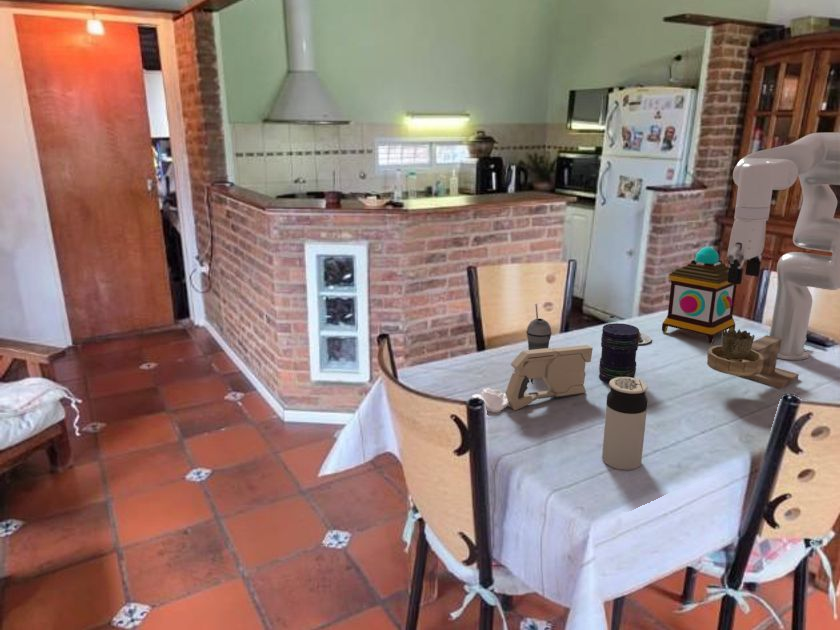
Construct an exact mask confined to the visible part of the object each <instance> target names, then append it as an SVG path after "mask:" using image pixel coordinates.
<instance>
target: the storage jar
mask: <svg viewBox="0 0 840 630" xmlns="http://www.w3.org/2000/svg"><path fill="white" fill-rule="evenodd" d="M609 318H610V319H614V318H615V316H614V315H610V316H609ZM639 332H640V328H638V327H636V326H634V325H632V324H627V323H619V322H618V323H617V322H616V323H615V322H614V323H607V324H604V325H603V326H602V332H601V340H600V341H601V342H600V344H601V345H600V347H601V356H600V359H599V364H598V365H599V367H598V371H599V374H598V378H599V381H601V382H603V383H604V384H605V383H606V384H608V385H610V384H609V382H610V380H612V379H614V378H617V377H631V378H635V376H636V374H637V373H636V371H637V361H636V359H637V358H636V357H637V351H638V348H639V345H638V343H640V341H639V335H638V334H639Z"/></svg>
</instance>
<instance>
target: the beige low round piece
mask: <svg viewBox="0 0 840 630" xmlns="http://www.w3.org/2000/svg"><path fill="white" fill-rule="evenodd" d="M638 335H639V342H638V346H639V345H640V346H641V345H646V344H648V343H651V341H652V339H653V338H652V337H651V336H650V335H648V334H645V333H643V332H641V331H639V334H638ZM642 340H644V341H642ZM641 341H642V342H641Z"/></svg>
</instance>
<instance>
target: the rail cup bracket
mask: <svg viewBox="0 0 840 630" xmlns="http://www.w3.org/2000/svg"><path fill="white" fill-rule="evenodd" d="M781 341H782V339H780V338H776V337H772V336H769V335H767V334H766V335H764V336H762V337H760V338H758V339H756V340H755V339H754V340H753V344H752V347H751V350H750V352H749V354H748V355H747V356H746V357H745V358H742V362H739V361H731V360H727V359H726V358H727V356H726V355H725V354H724V352H723V350H722V344H721V345H719V344H718V345H713V346H712V347H709V348H708V349H707V354H706V355H707V356H706V358H707V361H706V364H707V366H708V367H709V368H710V369H712V370H714V371H716V372H718V373H723V374H726V375H732V376H737V377H743V378H745V379H748V380H752V381H755V382H759V383H761V384H765V385H768V386H771V387H775V388H779V389H783V388H785V387H787V386H789V385H790V384H792V383H794V382H796V381H797V380H798V379H799V373H797V372H796V373H795V372H793V371H792V372H791V371H789V370H785V369H781V368H778V367H776V365H777V361H778V360H777V359H778V358H777V355H778V353H779V352H780V347H781Z"/></svg>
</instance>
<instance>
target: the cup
mask: <svg viewBox="0 0 840 630" xmlns="http://www.w3.org/2000/svg"><path fill="white" fill-rule="evenodd" d="M755 336H756V335H755V334H753V335H751V332H749V331H747V330H745V329H744V330H743V331H741V329H738V330H737V331H736V329H735V330H734V329H733V330H732V331H731V329H727V330H725V331H722V332H721V345H722V350H723V352H724V354H725V355H726V356H727V358H726V359H727V360H731V361H739V362H742V358H745V357H746V356H747V355H748V354H749V352H750V350H751V347H752V344H753V341H755Z"/></svg>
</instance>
